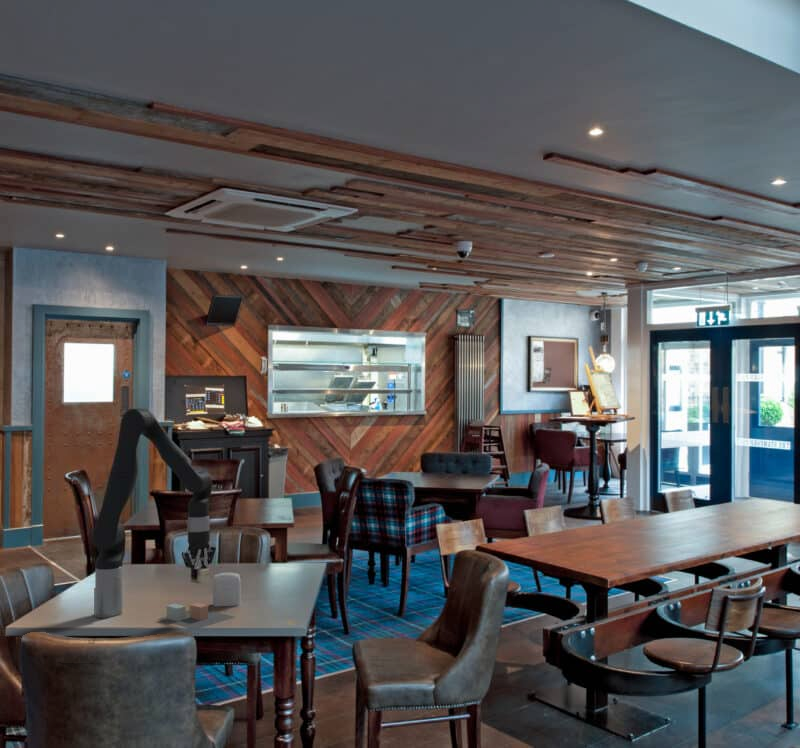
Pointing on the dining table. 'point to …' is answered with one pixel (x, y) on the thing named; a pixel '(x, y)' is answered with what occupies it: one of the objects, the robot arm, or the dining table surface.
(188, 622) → the charcoal mat
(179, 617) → the grey green brick
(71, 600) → the dining table surface
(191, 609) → the terracotta brick
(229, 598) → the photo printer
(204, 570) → the maple brick
